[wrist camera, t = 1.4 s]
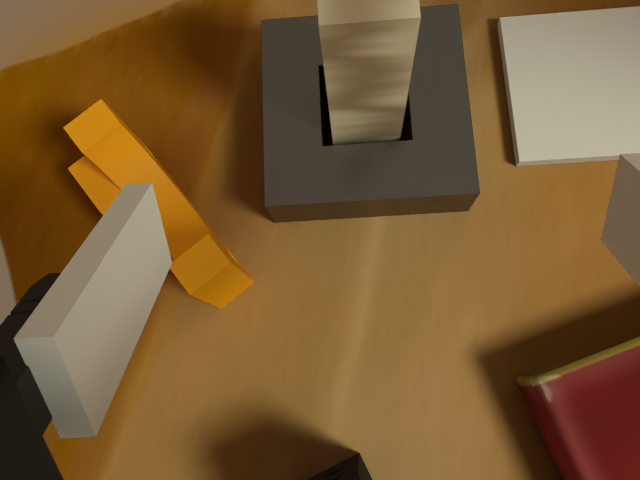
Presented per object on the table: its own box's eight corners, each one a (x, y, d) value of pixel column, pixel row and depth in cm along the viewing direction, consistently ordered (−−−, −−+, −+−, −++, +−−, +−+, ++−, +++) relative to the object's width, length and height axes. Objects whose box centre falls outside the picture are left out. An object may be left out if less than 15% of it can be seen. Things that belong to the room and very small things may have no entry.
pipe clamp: (92, 185, 36) (36, 147, 30) (145, 145, 37) (101, 98, 30) (199, 327, 34) (161, 317, 27) (254, 282, 34) (230, 262, 28)
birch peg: (393, 97, 36) (412, -69, 22) (397, 154, 35) (420, 17, 22) (331, 101, 36) (314, -61, 23) (334, 158, 35) (318, 25, 22)
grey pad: (652, 12, 36) (658, 4, 35) (682, 155, 34) (690, 150, 33) (496, 24, 37) (500, 17, 36) (515, 166, 34) (519, 161, 34)
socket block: (449, 37, 37) (458, 3, 33) (468, 211, 34) (480, 193, 31) (270, 52, 37) (261, 20, 34) (274, 222, 35) (264, 206, 31)
